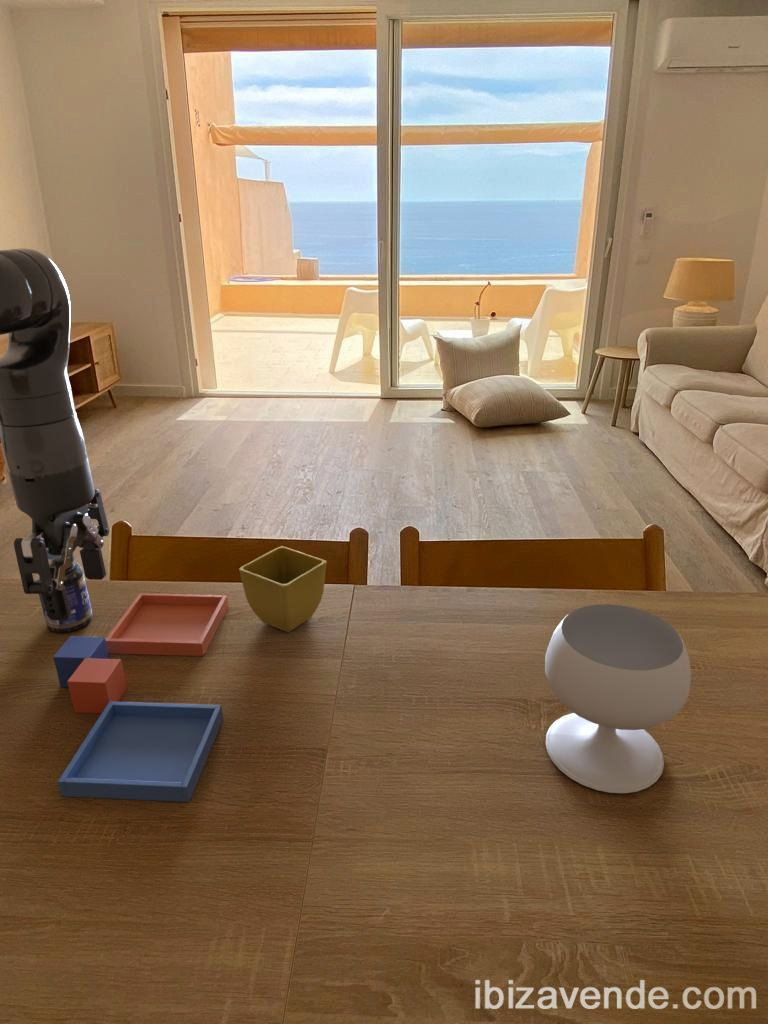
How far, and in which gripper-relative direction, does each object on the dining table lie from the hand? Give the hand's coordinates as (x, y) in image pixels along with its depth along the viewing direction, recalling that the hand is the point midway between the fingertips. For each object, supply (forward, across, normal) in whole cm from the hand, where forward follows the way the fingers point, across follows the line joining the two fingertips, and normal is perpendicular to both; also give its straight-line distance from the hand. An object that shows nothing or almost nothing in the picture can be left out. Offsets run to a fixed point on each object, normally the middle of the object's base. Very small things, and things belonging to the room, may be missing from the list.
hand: (79, 597), depth 77 cm
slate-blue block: (+15, -5, -4) cm, 16 cm away
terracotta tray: (+15, -16, +3) cm, 22 cm away
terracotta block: (+15, 0, 0) cm, 15 cm away
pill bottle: (+15, -17, -12) cm, 26 cm away
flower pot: (+15, -19, +19) cm, 30 cm away
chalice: (+15, +5, +58) cm, 60 cm away
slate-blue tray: (+15, +8, +9) cm, 19 cm away
